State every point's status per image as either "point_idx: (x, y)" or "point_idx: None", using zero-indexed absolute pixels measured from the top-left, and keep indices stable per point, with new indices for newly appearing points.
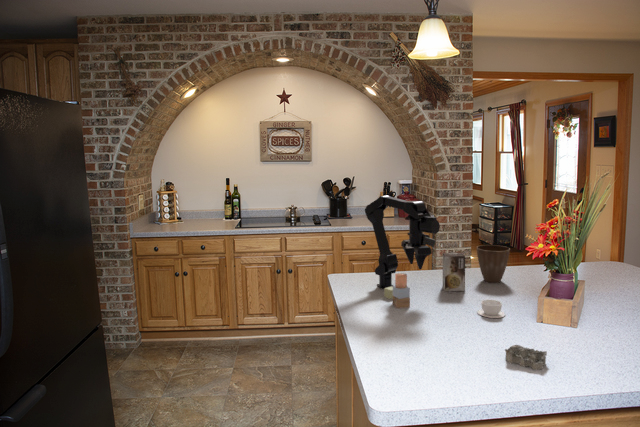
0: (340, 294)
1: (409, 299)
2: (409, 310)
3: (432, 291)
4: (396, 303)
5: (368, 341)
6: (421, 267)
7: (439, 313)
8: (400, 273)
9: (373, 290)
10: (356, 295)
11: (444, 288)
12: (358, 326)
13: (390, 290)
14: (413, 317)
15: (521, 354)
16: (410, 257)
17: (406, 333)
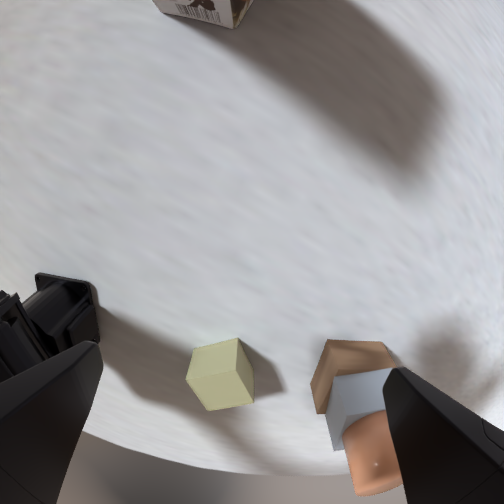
0: (149, 450)
1: (393, 365)
2: (405, 354)
3: (211, 97)
4: None
5: None
6: (414, 383)
7: (481, 268)
8: (365, 484)
9: (114, 372)
10: (167, 432)
11: (226, 21)
12: None
13: (249, 402)
14: (449, 360)
15: None
16: (60, 434)
17: (480, 392)
